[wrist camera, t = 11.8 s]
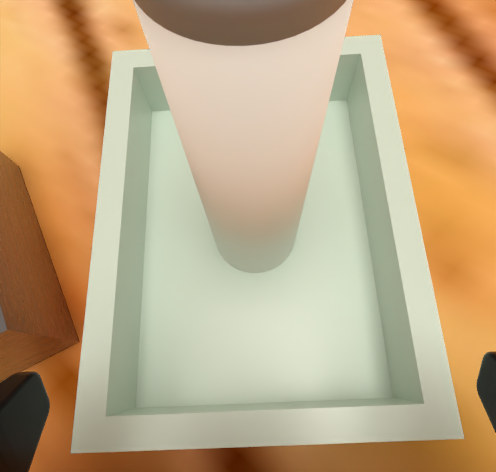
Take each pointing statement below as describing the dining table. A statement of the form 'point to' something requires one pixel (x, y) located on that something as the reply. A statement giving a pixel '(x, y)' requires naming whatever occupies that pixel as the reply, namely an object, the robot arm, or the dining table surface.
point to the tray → (260, 291)
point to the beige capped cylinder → (248, 109)
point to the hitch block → (27, 283)
